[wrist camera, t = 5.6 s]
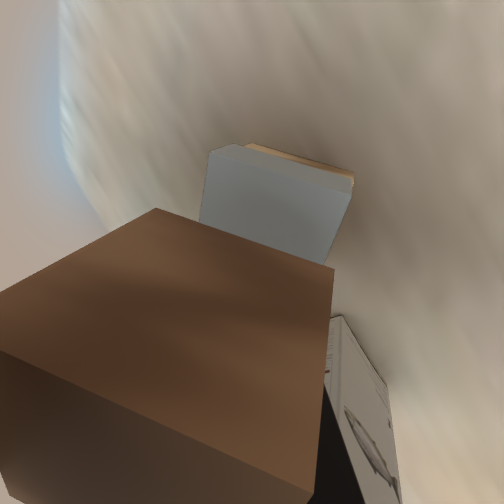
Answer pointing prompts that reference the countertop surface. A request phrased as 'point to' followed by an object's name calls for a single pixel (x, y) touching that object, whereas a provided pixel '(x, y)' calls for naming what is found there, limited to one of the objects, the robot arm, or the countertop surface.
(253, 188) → the tower mid
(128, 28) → the countertop surface
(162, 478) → the walnut cube
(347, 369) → the supplement box
